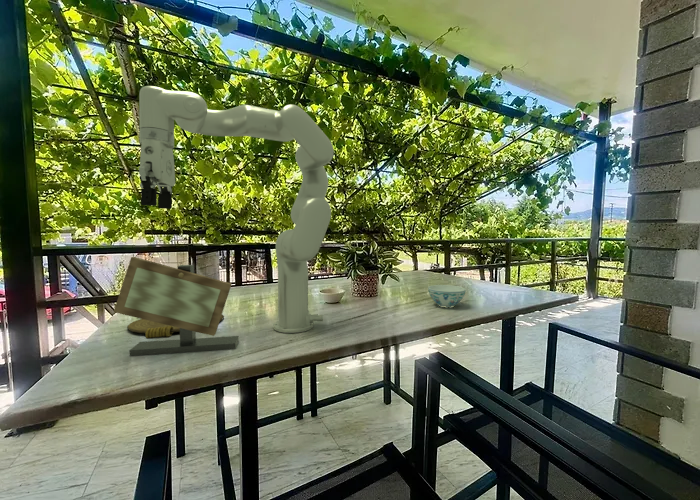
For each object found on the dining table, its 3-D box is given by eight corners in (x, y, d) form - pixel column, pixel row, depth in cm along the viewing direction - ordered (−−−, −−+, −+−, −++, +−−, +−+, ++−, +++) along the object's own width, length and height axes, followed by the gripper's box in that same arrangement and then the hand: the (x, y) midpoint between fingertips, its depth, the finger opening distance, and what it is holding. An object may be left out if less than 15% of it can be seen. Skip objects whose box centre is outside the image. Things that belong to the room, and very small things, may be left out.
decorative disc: (227, 305, 125) (217, 323, 96) (228, 314, 125) (217, 334, 96) (145, 310, 117) (107, 331, 88) (145, 319, 117) (107, 343, 88)
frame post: (238, 341, 89) (237, 263, 88) (235, 348, 83) (233, 266, 82) (140, 347, 84) (137, 265, 83) (129, 356, 78) (126, 268, 77)
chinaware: (471, 311, 124) (471, 291, 123) (432, 310, 124) (433, 291, 123) (458, 302, 139) (458, 284, 138) (424, 302, 139) (424, 284, 138)
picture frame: (215, 333, 84) (231, 283, 84) (213, 336, 82) (230, 284, 82) (117, 310, 79) (134, 256, 79) (112, 312, 76) (130, 257, 77)
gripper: (159, 130, 73) (159, 204, 74) (184, 149, 90) (184, 210, 91) (122, 127, 71) (123, 203, 72) (155, 147, 88) (155, 209, 89)
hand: (157, 206), depth 81 cm, fingers open, 9 cm apart
